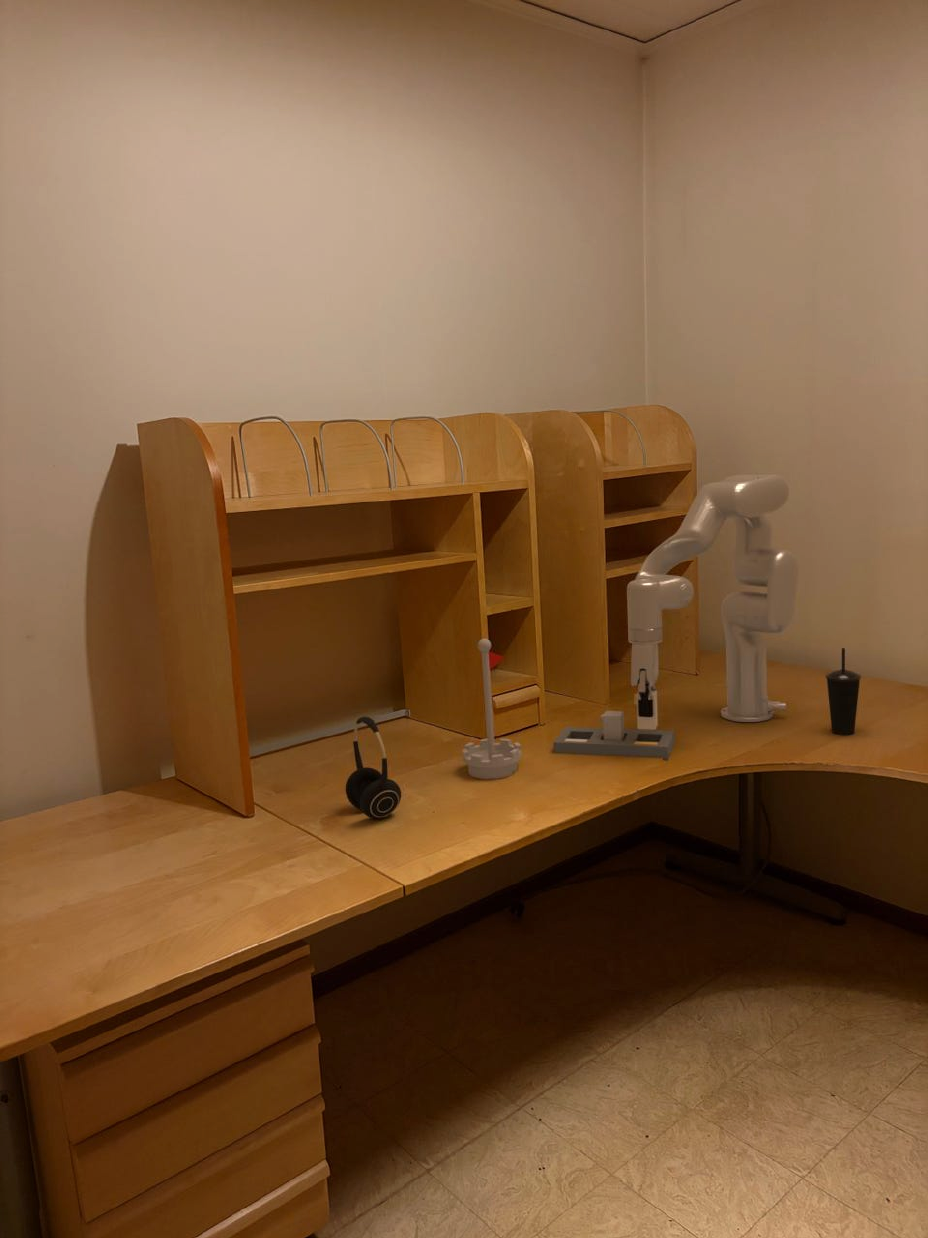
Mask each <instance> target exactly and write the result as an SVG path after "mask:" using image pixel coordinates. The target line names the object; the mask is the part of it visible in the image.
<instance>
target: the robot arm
mask: <svg viewBox="0 0 928 1238" xmlns="http://www.w3.org/2000/svg"><path fill="white" fill-rule="evenodd" d="M789 493H790V489H789V484H788V483H787V481H786V479H785V478H784V477H783V476H781V475H779V474H773V473H772V474H771V473H769V474H765V473H764V474H736V475H730V476H728V477H727V476H726V478H724V479H723V480H722V481H717V482H716V481H714V482H709V483H706V484H705V485H703V486H702V487H701V488H700V489H699V491H698V492H697V494H696V495H695V498H694V500H693V502H692V503H691V505H690V508H689V509H688V511H687V513H686V515H685V516H684V518H683V521H682V523H681V525H680V527H679V528H678V529H677V531H676V532H675V533H674V534H673V535H671V536H669V537H668V538H667V539H666V540H665V541H663V542H662V543H661V544H660V545H658V546H657V547H656V548H654V550H652V551H651V553H649V555H648V556H647V557H646V558H645V559H644V561H643V563H642V565H641V567H640V569H639V570H638V572H637V574H636V577H635V579H634V580H632V581H629V583H628V584H627V586H626V601H627V602H626V603H627V632H628V634H627V635H628V643H630V644H632V645H631V667H630V669H631V670H630V674H631V676H630V677H631V678H630V679H631V680H630V684H631V686H632V687H633V688H635V687H636V686H637V685H638V686H637V687H638V689H637V690H638V691H637V693H638V715H639V717H653V699H651V691H656V682H657V681H658V677H659V645H658V644H660V643H662V642H663V610H680V609H682V608H685V607H687V606H688V605H690V603H691V602H692V600H693V598H694V596H695V595H694V594H695V589H694V586H693V583H692V582H691V581H690V580H689V579H687V578H686V577H683V576H679V575H672V574H671V575H669V574H667V573H668V572H670V570H672V569H673V568H674V567H676V566H677V565H679V564H681V563H684V562H685V561H686V562H687V560H691V559H694V558H696V557H698V556H701V555H704V554H705V553H707V552H709V551H710V550H711V549H712V547H713V545H714V542H715V541H716V539H717V536H718V535H719V533H720V531H721V529H722V527H723V525H724V524H725V521H727V520H728V519H732V520H733V521H734V524H735V536H734V537H735V539H734V548H733V556H732V557H733V558H732V566H731V572H732V573H731V574H732V578H733V580H734V581H735V583H737V584H740V585H742V586H746V587H756V588H767V592H766V593H765V592H757V591H749V590H748V591H747V590H738V591H733V592H731V593H729V594H728V595H726V596H725V597H724V598H723V601H722V602H721V606H720V614H721V620H722V624H723V630H724V634H725V637H724V638H725V651H726V652H725V654H726V655H725V658H726V662H725V665H726V667H725V668H726V704H727V705H726V706H725V707H723V708H722V709H720V716H721V717H722V718H723V719H725V720H729V721H733V722H740V723H757V722H764V721H767V720H768V721H769V720H770V719H772V718H773V717H774V711H779V712H785V711H786V709H787V708H786V707H787V706H786V702H782V701H777V700H775V701H771V700H770V699H769V695H767V647H766V643H765V640H764V638H763V635H762V633H763V634H774V635H779V634H783V633H785V632H786V631H788V630H789V629H790V627H791V624H792V622H793V619H794V614H795V605H796V598H797V587H798V579H799V565H798V561H797V559H796V556H795V555H794V554H793V553H792V551H790V550H788V549H784V548H772V537H773V536H772V535H773V528H772V524H771V523H772V522H771V520H770V519H769V516H768V514H769V513H770V514H771V513H773V512H776V511H778V510H780V509H781V508H782V507H783V506H784V505H785V504H786V502H787V501H788V499H789Z"/></svg>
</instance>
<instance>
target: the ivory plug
mask: <svg viewBox="0 0 928 1238" xmlns="http://www.w3.org/2000/svg"><path fill="white" fill-rule="evenodd" d="M651 699H653V717H639V715H638V692H637V693H634V696H633V700H634V701H633V703H634V705H636V719H637V729H639V730H657V727H658V725H659V723H658V722H659V719H658V718H659V716H658V712H659V711H658V690H655V691H651Z"/></svg>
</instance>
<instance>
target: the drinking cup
mask: <svg viewBox="0 0 928 1238" xmlns="http://www.w3.org/2000/svg"><path fill="white" fill-rule="evenodd" d="M824 675H825V676H824V677H825V679H826V684H827V693H828V694H827V696H828V703H829V704H828V705H829V706H828V707H829V714H830V724H831V725H830V726H831V733H833V734H835V735H838V736H850V735H853V734H855V730H856V729H855V727H856V721H857V720H856V719H857V710H858V701H859V690H860V682H861V681H860V680H861V679H862V675H861V674H860V673H857V672H855V671H853V670H850V669H846V648H845V647H843V648H841V669H835V670H832V671H830V672H827V673H825V674H824Z"/></svg>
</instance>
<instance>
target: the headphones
mask: <svg viewBox="0 0 928 1238" xmlns="http://www.w3.org/2000/svg"><path fill="white" fill-rule="evenodd" d="M361 723H364V724H365V725H366V726H367V727H369V728H370V729H371V731H372V732H373V734H375V736H376V738H377V740H378V743H379V746H380V751H381V756H382V757H381V772H380V771H379V770H378V769H375V768H373V767H369V766H368V767H364V765H363V760H362V756H361V752H360V749H359V748H360V747H359V742H358V729H359V726H360V724H361ZM379 732H380V731H379V728H378V726H377V724H376V722H375V720H374V719H372V718H371V717H369V716H361V717H359V718H358V719H357V720H356V723H355V726H354V729H353V741H352V743H353V744H352V746H353V753H354V760H355V766H356V770H354V771H353V772H352V773H351V774H350V775H349V776H348V778H347V781H346V784H345V795H346V798H347V800H348V802H349V803H350V804H351V805H352V806H353V807H354V808H356V809H358V810H360V811H362V813H363V814H364V815H365V816H366V817H367V818H371V819H376V820H377V819H382V818H386V817H388V816H389V815H391V814H392V813H393V812H394V811H395V810H396V809H397V808H398V807H399V805H400V803H401V799H402V790H401V787H400V786H399V784H398V783H397V782H396V781H395V780H393V779H390V778H389V777H388V776H389V774H388V758H387V755H386V749H385V746H384V743H383V740H382V737H381V735H380V733H379Z"/></svg>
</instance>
